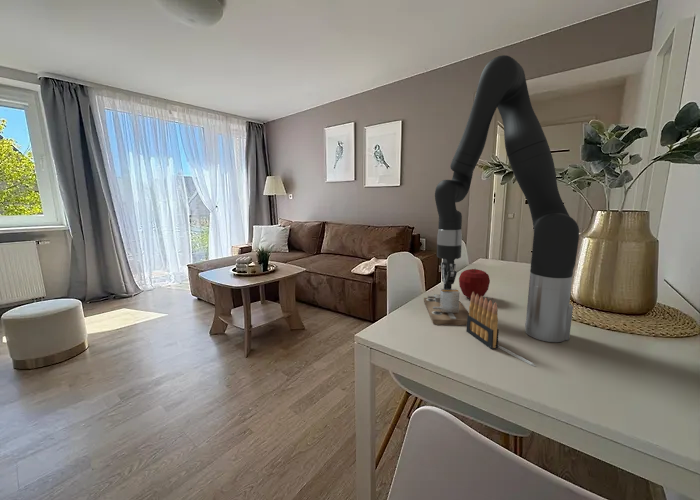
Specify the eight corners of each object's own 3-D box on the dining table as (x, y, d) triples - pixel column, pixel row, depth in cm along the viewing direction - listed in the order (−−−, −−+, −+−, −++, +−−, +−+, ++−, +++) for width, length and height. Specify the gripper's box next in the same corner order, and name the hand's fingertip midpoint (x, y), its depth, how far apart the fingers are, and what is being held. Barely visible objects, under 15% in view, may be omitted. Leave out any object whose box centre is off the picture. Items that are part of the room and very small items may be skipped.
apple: (459, 292, 117) (461, 264, 115) (488, 295, 112) (490, 266, 110) (456, 300, 107) (457, 270, 106) (488, 304, 103) (490, 272, 101)
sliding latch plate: (457, 302, 106) (457, 294, 105) (474, 325, 86) (474, 315, 86) (423, 301, 107) (424, 293, 107) (433, 324, 88) (433, 314, 87)
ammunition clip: (498, 348, 73) (501, 303, 71) (491, 349, 72) (494, 303, 70) (471, 330, 83) (474, 290, 81) (466, 331, 82) (468, 290, 80)
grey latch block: (455, 308, 95) (456, 288, 94) (458, 312, 91) (459, 292, 90) (431, 307, 95) (432, 288, 94) (434, 312, 92) (434, 291, 90)
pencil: (534, 366, 64) (480, 338, 78) (535, 369, 64) (481, 340, 78) (536, 364, 64) (483, 335, 78) (538, 366, 65) (484, 338, 78)
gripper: (466, 246, 87) (464, 301, 89) (456, 240, 100) (454, 288, 102) (441, 246, 88) (439, 301, 90) (433, 240, 100) (432, 288, 103)
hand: (447, 294), depth 96 cm, fingers closed
